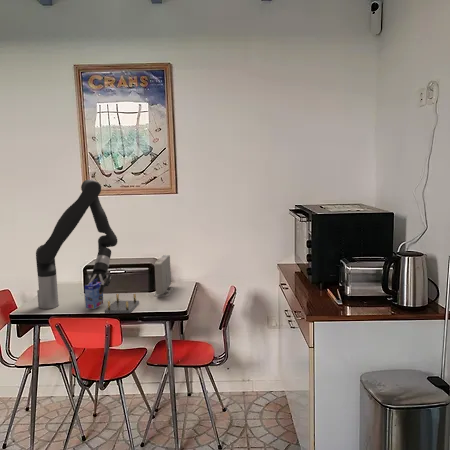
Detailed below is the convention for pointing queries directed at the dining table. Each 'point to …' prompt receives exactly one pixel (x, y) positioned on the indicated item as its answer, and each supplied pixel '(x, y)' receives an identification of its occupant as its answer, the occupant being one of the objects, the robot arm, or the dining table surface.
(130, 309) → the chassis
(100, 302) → the ink cartridge box
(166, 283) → the network device
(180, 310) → the dining table surface
